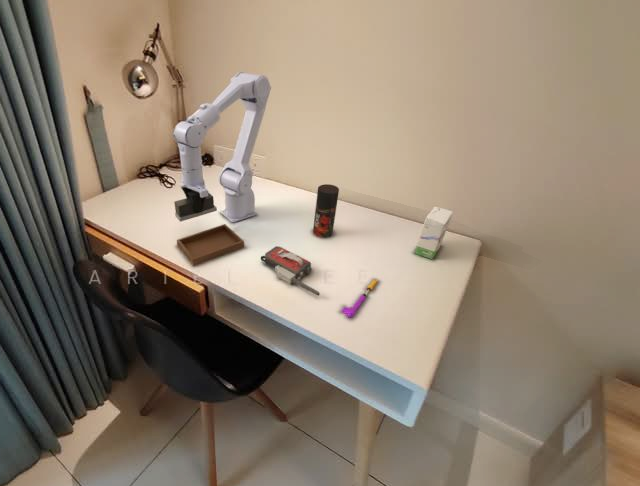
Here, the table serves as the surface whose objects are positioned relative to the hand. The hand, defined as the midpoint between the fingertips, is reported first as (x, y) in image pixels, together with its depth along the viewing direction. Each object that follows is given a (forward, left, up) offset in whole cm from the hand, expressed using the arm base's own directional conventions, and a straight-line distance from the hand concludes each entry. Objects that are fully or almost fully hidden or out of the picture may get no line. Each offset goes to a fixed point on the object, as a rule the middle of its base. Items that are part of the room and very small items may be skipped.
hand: (196, 209), depth 105 cm
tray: (0, +8, -9) cm, 12 cm away
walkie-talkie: (-13, +31, -9) cm, 35 cm away
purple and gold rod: (-21, +46, -10) cm, 52 cm away
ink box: (-52, +43, -9) cm, 68 cm away
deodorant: (-33, +20, -9) cm, 40 cm away
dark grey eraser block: (0, 0, -1) cm, 1 cm away
